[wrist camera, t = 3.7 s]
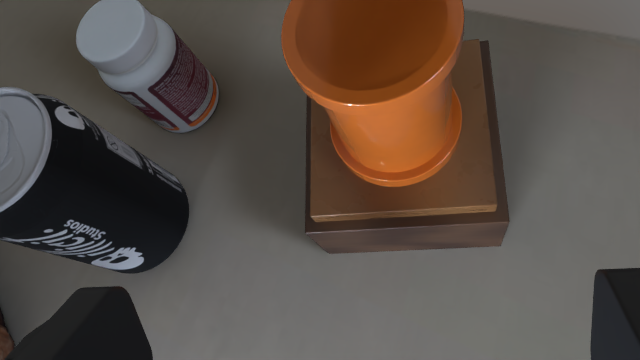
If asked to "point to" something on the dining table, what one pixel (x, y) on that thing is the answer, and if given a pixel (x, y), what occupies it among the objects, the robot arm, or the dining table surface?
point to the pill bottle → (147, 64)
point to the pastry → (4, 339)
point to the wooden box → (420, 198)
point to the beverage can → (82, 189)
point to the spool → (381, 80)
